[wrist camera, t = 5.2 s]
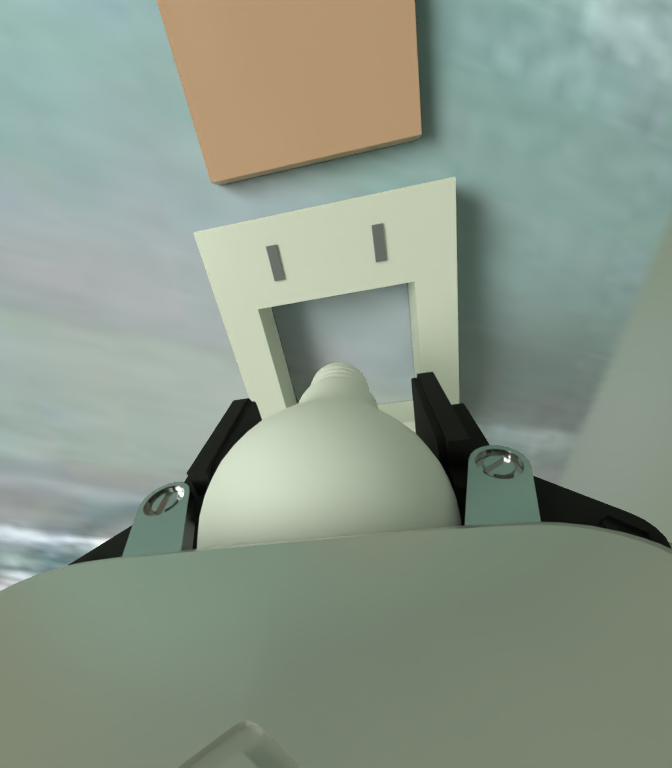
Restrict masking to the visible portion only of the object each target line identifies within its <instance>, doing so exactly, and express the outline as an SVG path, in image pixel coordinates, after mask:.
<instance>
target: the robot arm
mask: <svg viewBox="0 0 672 768" xmlns="http://www.w3.org/2000/svg"><path fill="white" fill-rule="evenodd" d="M411 382H412V394H413V406H414V418H415V430H416V434H417V435H418V436H419V437H420V439H421V440H422V441H423V442H424V443H425V444H426V445H427V446H428V448H429V449H430V450H431V451H432V453H433V454H434V455H435V457H436V458H437V459H438V461H439V462H440V463H441V465H442V467H443V469H444V471H445V473H446V475H447V476H448V478H449V480H450V483H451V485H452V488H453V491H454V493H455V496H456V499H457V503H458V508H459V512H460V517H461V525H462V526H451V527H437V528H425V529H413V530H402V531H390V532H378V533H366V534H354V535H343V536H332V537H321V538H309V539H298V540H287V541H276V542H265V543H255V544H244V545H233V546H223V547H213V548H202V549H197V536H198V526H199V516H200V512H201V508H202V505H203V501H204V497H205V494H206V491H207V489H208V487H209V484H210V482H211V480H212V477H213V476H214V474H215V472H216V470H217V468H218V466H219V464H220V463H221V461H222V460H223V458H224V457H225V456H226V455H227V453H228V452H229V451H230V449H231V448H232V447H233V446H234V445H235V444H236V443H237V442H238V441H239V440H240V439H241V438H242V437H243V436H244V435H245V434H246V433H247V432H248V431H249V430H250V429H252V428H253V427H254V426H255V425H257V424H258V423H259V422H261V421H262V418H261V415H260V412H259V409H258V406H257V404H256V402H255V401H251V400H250V399H249V398H247V399H240V400H234V401H233V402H232V404H231V405H230V407H229V408H228V410H227V411H226V413H225V415H224V416H223V418H222V419H221V421H220V422H219V424H218V425H217V427H216V428H215V430H214V432H213V433H212V435H211V436H210V438H209V439H208V441H207V442H206V444H205V445H204V447H203V449H202V450H201V452H200V453H199V455H198V456H197V458H196V459H195V461H194V462H193V464H192V466H191V467H190V469H189V470H188V472H187V475H188V477H187V479H186V480H185V482H184V483H183V482H174V483H170V484H167V485H164V486H162V487H160V488H158V489H157V490H155V491H153V492H152V493H151V494H150V495H148V496H147V497H146V498H145V499H144V500H143V501H142V503H141V504H140V506H139V508H138V510H137V513H136V516H135V519H134V522H133V525H132V526H130V527H129V528H127V529H126V530H124V531H122V532H121V533H119V534H117V535H116V536H114V537H113V538H111V539H109V540H108V541H106V542H105V543H103V544H101V545H100V546H98V547H97V548H95V549H93V550H92V551H90V552H89V553H87V554H85V555H84V556H82V557H80V558H79V559H77V560H76V561H74V562H72V563H71V564H69V565H67V566H64V567H60V568H57V569H54V570H50V571H47V572H44V573H40V574H38V575H35V576H33V577H30V578H28V579H25V580H23V581H21V582H18V583H16V584H14V585H12V586H10V587H8V588H6V589H4V590H2V591H0V768H672V543H669V542H668V541H667V539H666V537H665V536H664V535H663V534H662V533H661V532H660V531H659V530H658V529H657V528H656V527H654V526H653V525H651V524H650V523H648V522H647V521H645V520H644V519H642V518H640V517H638V516H635V515H633V514H631V513H629V512H626V511H624V510H621V509H618V508H616V507H613V506H610V505H608V504H605V503H603V502H600V501H597V500H595V499H592V498H590V497H587V496H584V495H582V494H579V493H576V492H574V491H571V490H569V489H566V488H563V487H561V486H558V485H556V484H553V483H550V482H548V481H545V480H543V479H540V478H537V477H535V476H533V472H532V467H531V464H530V462H529V460H528V459H527V458H526V457H525V456H524V455H523V454H521V453H520V452H518V451H516V450H514V449H511V448H509V447H504V446H499V445H489V443H488V441H487V440H486V438H485V437H484V435H483V433H482V432H481V430H480V429H479V427H478V426H477V424H476V422H475V421H474V419H473V418H472V416H471V414H470V413H469V411H468V410H467V408H466V406H465V405H464V404H463V403H460V404H452V405H451V403H450V401H449V399H448V398H447V396H446V394H445V392H444V391H443V389H442V387H441V385H440V383H439V382H438V380H437V378H436V376H435V374H434V373H433V372H426V373H419V374H417V378H412V379H411Z"/></svg>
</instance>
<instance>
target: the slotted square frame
mask: <svg viewBox="0 0 672 768" xmlns="http://www.w3.org/2000/svg"><path fill="white" fill-rule="evenodd" d="M193 233H194V236H195V239H196V242H197V245H198V248H199V251H200V254H201V257H202V260H203V263H204V266H205V269H206V272H207V275H208V278H209V281H210V284H211V286H212V289H213V292H214V295H215V298H216V301H217V304H218V307H219V310H220V313H221V316H222V319H223V322H224V325H225V328H226V331H227V334H228V337H229V340H230V343H231V346H232V349H233V351H234V354H235V357H236V360H237V363H238V366H239V369H240V372H241V375H242V378H243V381H244V384H245V387H246V390H247V393H248V396H249V399H250V400H251V401H255V402H256V404H257V406H258V409H259V412H260V415H261V418H262V420H263V419H265V418H267V417H269V416H271V415H273V414H275V413H277V412H279V411H281V410H284V409H286V408H288V407H291V406H293V405H296V404H297V402H296V398H295V394H294V390H293V387H292V383H291V379H290V375H289V372H288V368H287V364H286V360H285V357H284V353H283V349H282V345H281V342H280V338H279V334H278V331H277V327H276V323H275V319H274V316H273V312H272V308H271V307H274V306H279V305H285V304H291V303H296V302H302V301H308V300H313V299H319V298H324V297H330V296H336V295H341V294H347V293H353V292H358V291H364V290H370V289H375V288H381V287H387V286H392V285H398V284H403V283H408V294H409V306H410V319H411V331H412V343H413V355H414V368H415V378H417V374H419V373H426V372H433V373H434V374H435V376H436V378H437V380H438V382H439V383H440V385H441V387H442V389H443V391H444V392H445V394H446V396H447V398H448V399H449V401H450V403H451V405H452V404H459V352H458V292H457V232H456V177H451V178H447V179H442V180H437V181H432V182H428V183H423V184H418V185H414V186H409V187H404V188H400V189H395V190H390V191H386V192H381V193H376V194H371V195H367V196H362V197H357V198H353V199H348V200H343V201H339V202H334V203H329V204H324V205H320V206H315V207H310V208H306V209H301V210H296V211H292V212H287V213H282V214H277V215H273V216H268V217H263V218H259V219H254V220H249V221H245V222H240V223H235V224H231V225H226V226H221V227H216V228H212V229H207V230H202V231H198V232H193ZM377 406H378V409H379V410H381V411H383V412H385V413H387V414H389V415H390V416H392V417H394V418H395V419H397V420H399V421H400V422H401V423H403V424H404V425H406V426H407V427H408V428H410V429H411V430H412V431H414V432H415V433H416V430H415V418H414V406H413V400H410V401H403V402H395V403H388V404H380V405H377Z"/></svg>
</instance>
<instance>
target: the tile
mask: <svg viewBox="0 0 672 768" xmlns="http://www.w3.org/2000/svg"><path fill="white" fill-rule="evenodd" d="M157 3H158V6H159V10H160V13H161V16H162V20H163V23H164V26H165V30H166V33H167V36H168V40H169V43H170V46H171V50H172V53H173V57H174V60H175V63H176V67H177V70H178V73H179V77H180V80H181V83H182V87H183V90H184V93H185V97H186V100H187V103H188V107H189V110H190V114H191V117H192V120H193V124H194V127H195V130H196V134H197V137H198V140H199V144H200V147H201V150H202V154H203V157H204V160H205V164H206V167H207V170H208V174H209V177H210V181H211V183H213V184H216V185H223V184H227V183H232V182H236V181H240V180H245V179H249V178H253V177H258V176H262V175H267V174H271V173H275V172H280V171H284V170H288V169H293V168H297V167H301V166H306V165H310V164H314V163H319V162H323V161H328V160H332V159H336V158H341V157H345V156H349V155H354V154H358V153H362V152H367V151H371V150H375V149H380V148H384V147H389V146H393V145H397V144H402V143H406V142H410V141H415V140H418V139H419V137H420V136H421V134H422V129H421V111H420V92H419V73H418V54H417V35H416V16H415V0H157Z"/></svg>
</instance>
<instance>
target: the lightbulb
mask: <svg viewBox="0 0 672 768" xmlns="http://www.w3.org/2000/svg"><path fill="white" fill-rule="evenodd" d="M451 526H462V525H461V517H460V512H459V508H458V503H457V499H456V496H455V493H454V491H453V488H452V485H451V483H450V480H449V478H448V476H447V475H446V473H445V471H444V469H443V467H442V465H441V463H440V462H439V461H438V459H437V458H436V457H435V455H434V454H433V453H432V451H431V450H430V449H429V448H428V446H427V445H426V444H425V443H424V442H423V441H422V440H421V439H420V437H419V436H418V435H417V434H416V433H415V432H414V431H412V430H411V429H410V428H408V427H407V426H406V425H404V424H403V423H401V422H400V421H399V420H397V419H395V418H394V417H392V416H390V415H389V414H387V413H385V412H383V411H381V410H379V409H378V406H377V403H376V400H375V398H374V396H373V395H372V393H371V392H370V391H369V387H368V384H367V382H366V379H365V377H364V375H363V373H362V372H361V371H360V370H359V369H357V368H356V367H355V366H352V365H350V364H347V363H340V362H338V363H331V364H328V365H326V366H324V367H322V368H321V369H320V370H319V371H318V372H317V373H316V375H315V376H314V378H313V380H312V382H311V385H310V387H309V388H308V389H307V390H306V391H305V392H304V393H303V395H302V397H301V399H300V401H299V403H298V404H296V405H293V406H291V407H288V408H286V409H284V410H281V411H279V412H277V413H275V414H273V415H271V416H269V417H267V418H265V419H263V420H262V421H261V422H259V423H258V424H257V425H255V426H254V427H253V428H252V429H250V430H249V431H248V432H247V433H246V434H245V435H244V436H243V437H242V438H241V439H240V440H239V441H238V442H237V443H236V444H235V445H234V446H233V447H232V448H231V449H230V451H229V452H228V453H227V455H226V456H225V457H224V458H223V460H222V461H221V463H220V464H219V466H218V468H217V470H216V472H215V474H214V476H213V477H212V480H211V482H210V484H209V487H208V489H207V491H206V494H205V497H204V501H203V505H202V508H201V512H200V516H199V526H198V536H197V549H202V548H213V547H223V546H233V545H244V544H255V543H265V542H276V541H287V540H298V539H309V538H321V537H332V536H343V535H354V534H366V533H378V532H390V531H402V530H413V529H425V528H437V527H451Z"/></svg>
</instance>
